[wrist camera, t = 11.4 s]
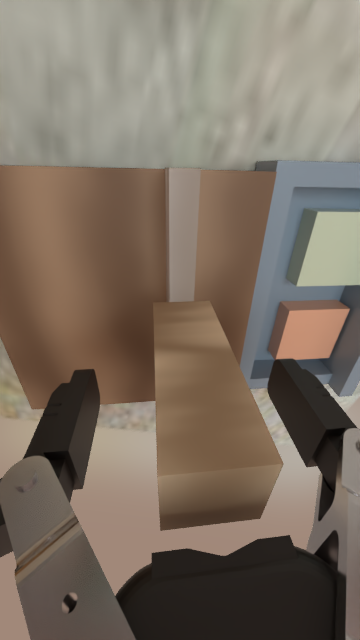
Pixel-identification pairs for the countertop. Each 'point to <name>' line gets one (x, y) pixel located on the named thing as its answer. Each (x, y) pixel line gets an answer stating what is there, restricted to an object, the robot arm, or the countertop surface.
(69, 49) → the countertop surface
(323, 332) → the terracotta tile
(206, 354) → the long tan wooden block
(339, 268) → the sage tile
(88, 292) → the board
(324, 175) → the tray
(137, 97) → the countertop surface
